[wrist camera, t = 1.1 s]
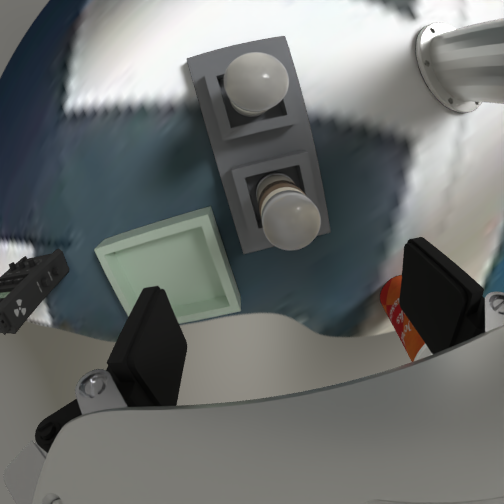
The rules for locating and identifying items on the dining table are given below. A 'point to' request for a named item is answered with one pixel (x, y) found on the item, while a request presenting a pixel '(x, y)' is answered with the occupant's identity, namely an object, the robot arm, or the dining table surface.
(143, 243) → the parts tray
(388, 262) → the dining table surface
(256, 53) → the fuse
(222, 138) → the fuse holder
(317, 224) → the fuse
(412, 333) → the paper cup
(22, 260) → the geiger counter
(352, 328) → the dining table surface
